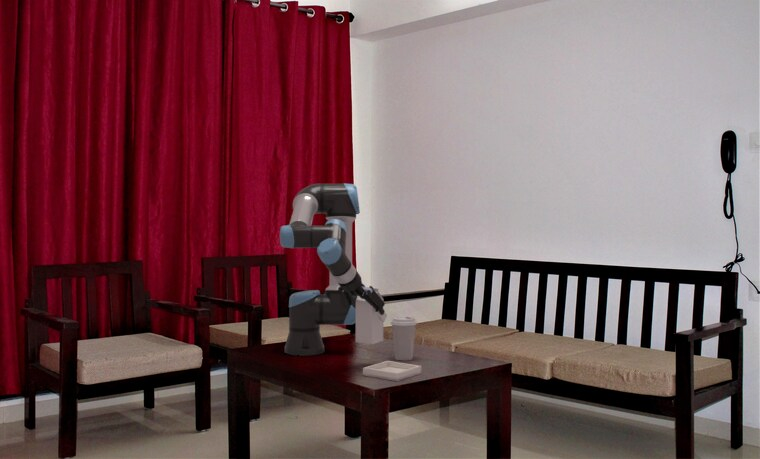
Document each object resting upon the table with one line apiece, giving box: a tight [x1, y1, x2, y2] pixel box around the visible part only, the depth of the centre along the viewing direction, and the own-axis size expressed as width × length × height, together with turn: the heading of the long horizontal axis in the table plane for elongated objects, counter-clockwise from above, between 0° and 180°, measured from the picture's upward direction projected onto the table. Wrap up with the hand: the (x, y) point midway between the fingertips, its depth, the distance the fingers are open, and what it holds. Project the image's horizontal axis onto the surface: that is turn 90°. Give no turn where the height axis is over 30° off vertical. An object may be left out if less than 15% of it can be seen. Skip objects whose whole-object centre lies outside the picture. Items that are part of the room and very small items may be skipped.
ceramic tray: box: [362, 360, 422, 382], centre depth 247 cm, size 14×14×2 cm
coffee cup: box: [390, 315, 418, 361], centre depth 272 cm, size 10×10×15 cm
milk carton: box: [355, 287, 384, 345], centre depth 260 cm, size 7×7×19 cm
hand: (375, 317), depth 262 cm, fingers closed on milk carton, 7 cm apart
